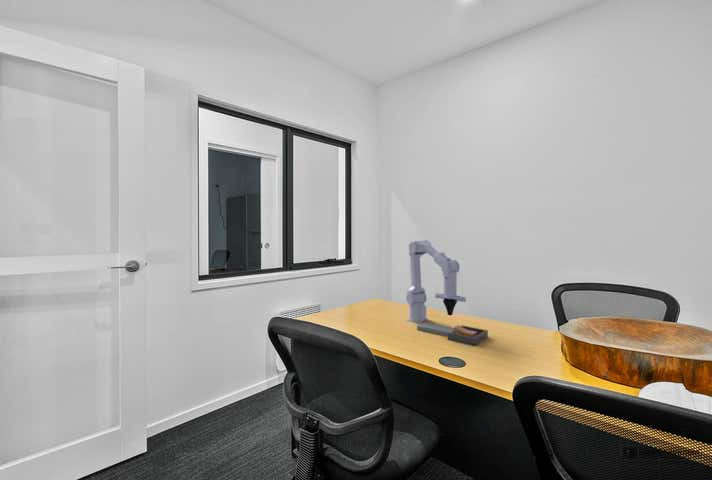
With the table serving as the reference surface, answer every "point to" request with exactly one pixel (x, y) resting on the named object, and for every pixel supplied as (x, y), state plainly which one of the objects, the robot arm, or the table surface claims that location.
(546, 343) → the table surface
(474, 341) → the box
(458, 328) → the tile back
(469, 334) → the tile front
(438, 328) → the slate plate
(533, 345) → the table surface
